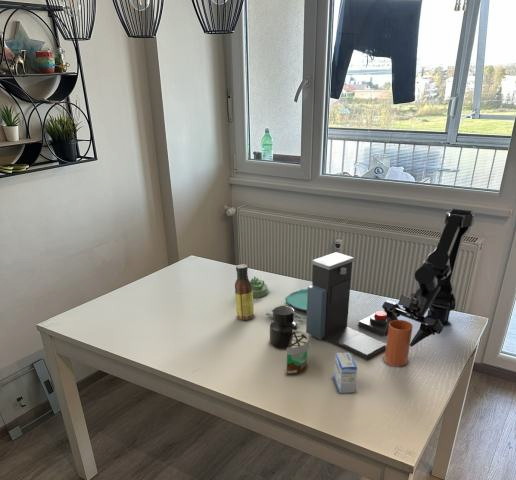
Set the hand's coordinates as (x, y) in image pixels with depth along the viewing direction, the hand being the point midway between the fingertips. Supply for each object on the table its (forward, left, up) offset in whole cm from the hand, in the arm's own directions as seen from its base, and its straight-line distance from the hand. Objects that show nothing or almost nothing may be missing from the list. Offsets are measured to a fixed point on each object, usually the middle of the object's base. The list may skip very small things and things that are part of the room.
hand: (397, 340), depth 147 cm
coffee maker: (+10, -16, -7) cm, 20 cm away
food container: (+30, -3, -8) cm, 31 cm away
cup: (0, 0, -7) cm, 7 cm away
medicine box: (+20, +9, -8) cm, 23 cm away
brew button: (-5, -23, -4) cm, 24 cm away
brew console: (-5, -23, -7) cm, 25 cm away
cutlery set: (+17, -43, -8) cm, 47 cm away
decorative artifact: (+32, -62, -8) cm, 70 cm away
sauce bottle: (+40, -41, -8) cm, 58 cm away
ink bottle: (+31, -19, -8) cm, 37 cm away
